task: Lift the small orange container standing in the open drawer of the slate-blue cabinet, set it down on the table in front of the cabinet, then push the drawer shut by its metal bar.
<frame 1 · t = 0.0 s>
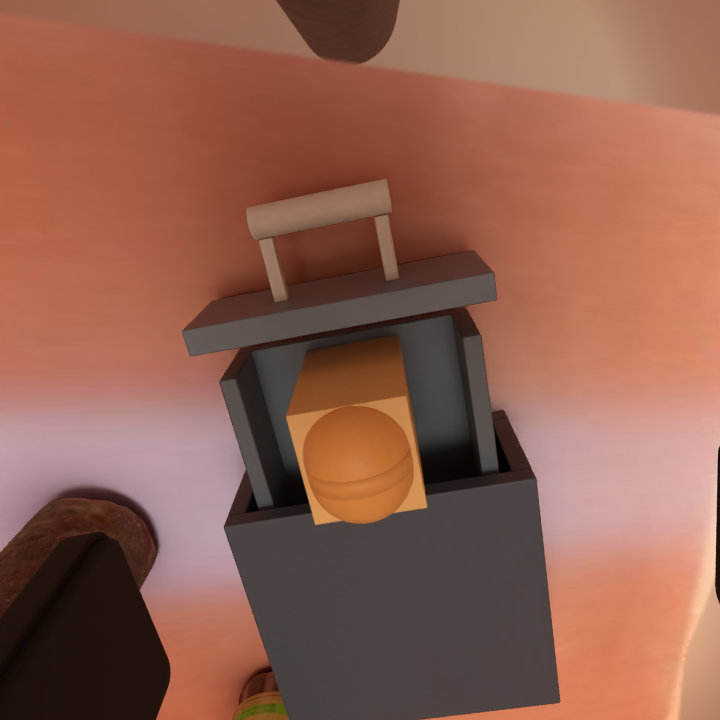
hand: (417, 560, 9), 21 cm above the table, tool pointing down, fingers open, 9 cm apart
cabinet: (397, 532, 35), on the table
sauce bottle: (284, 694, 40), on the table
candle: (98, 534, 35), on the table
drawer: (355, 373, 27), point 3 cm above the table, slide at 8.0 cm, touching orange container
orange container: (362, 388, 29), point 2 cm above the table, touching drawer
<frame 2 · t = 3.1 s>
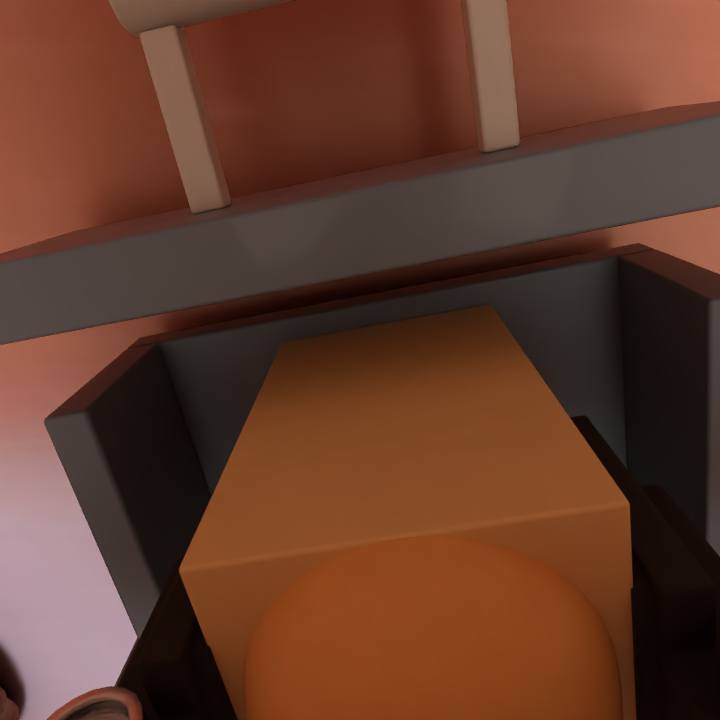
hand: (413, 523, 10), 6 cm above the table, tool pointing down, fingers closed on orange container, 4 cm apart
drawer: (395, 393, 12), point 3 cm above the table, slide at 8.0 cm, touching orange container
orange container: (403, 424, 13), point 2 cm above the table, touching drawer, gripper
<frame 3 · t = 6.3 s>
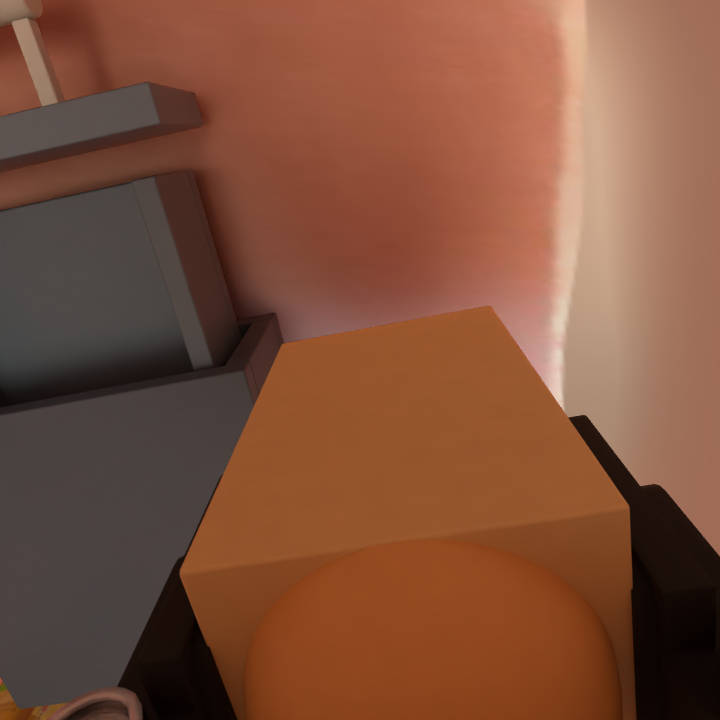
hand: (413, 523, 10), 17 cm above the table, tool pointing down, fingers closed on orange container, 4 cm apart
cabinet: (171, 469, 29), on the table
sauce bottle: (76, 667, 34), on the table
drawer: (42, 248, 22), point 3 cm above the table, slide at 8.0 cm
orange container: (404, 425, 13), point 13 cm above the table, touching gripper
when the fingers open (4 cm above the table, at t = 9.5 s): orange container stays where it is, on the table.
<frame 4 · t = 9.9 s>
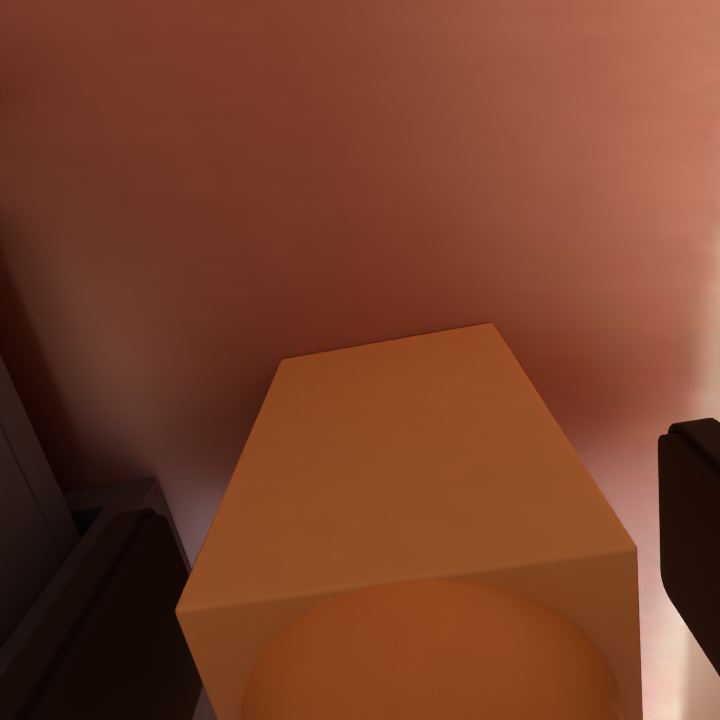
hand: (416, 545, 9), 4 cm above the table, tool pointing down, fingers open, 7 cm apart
orange container: (404, 442, 13), on the table
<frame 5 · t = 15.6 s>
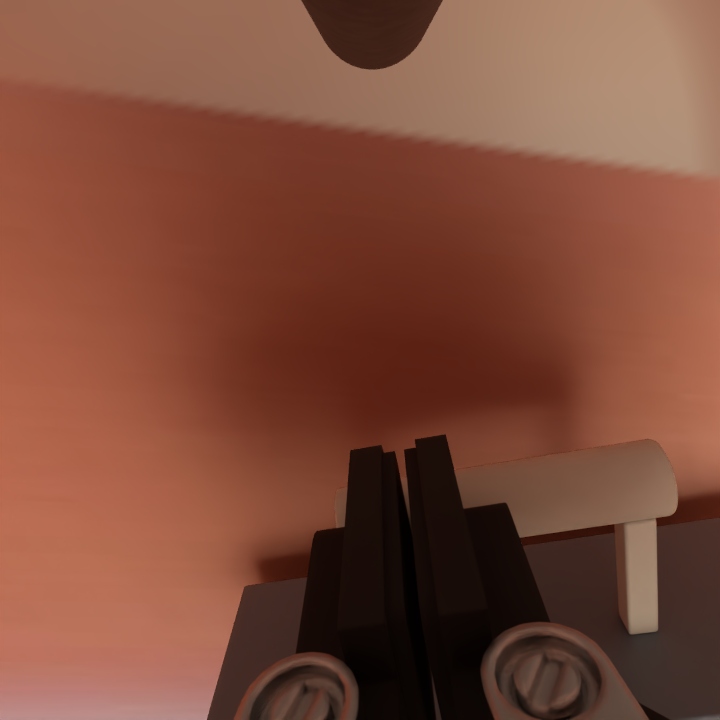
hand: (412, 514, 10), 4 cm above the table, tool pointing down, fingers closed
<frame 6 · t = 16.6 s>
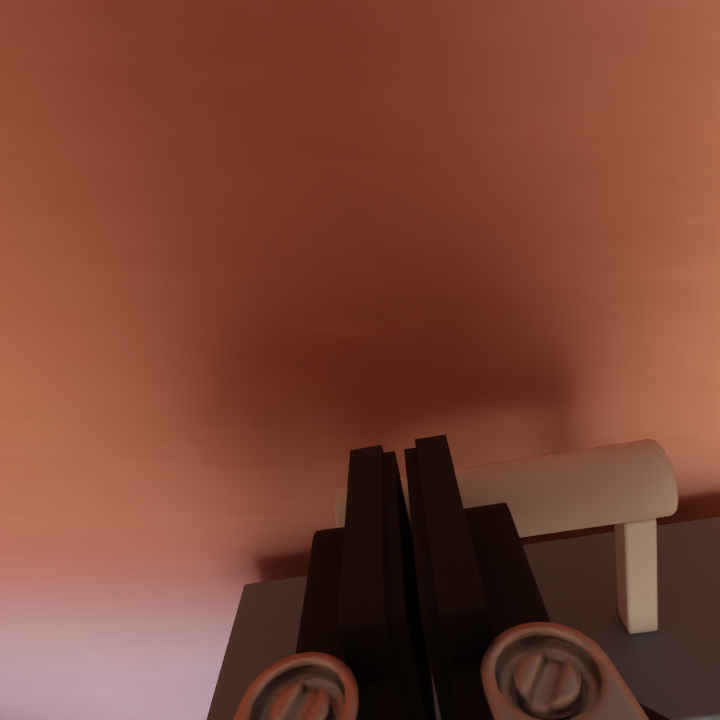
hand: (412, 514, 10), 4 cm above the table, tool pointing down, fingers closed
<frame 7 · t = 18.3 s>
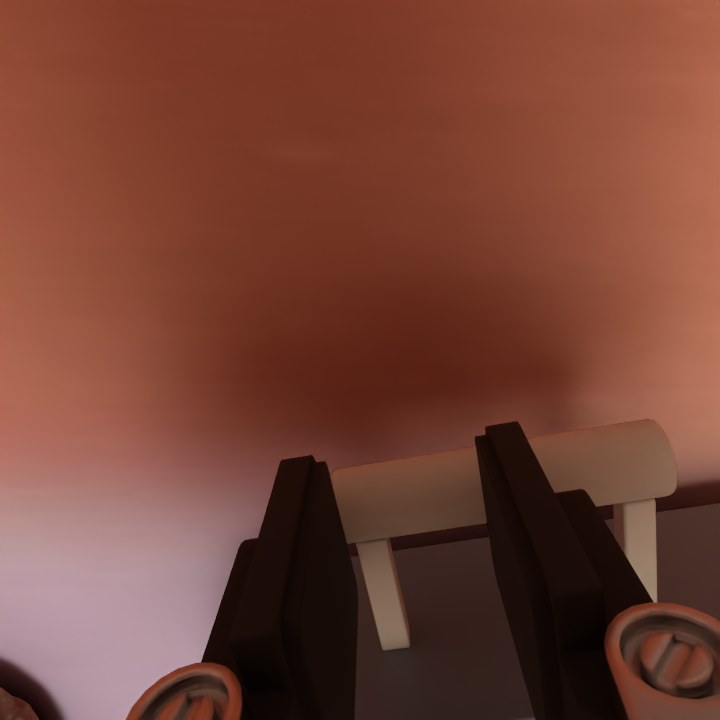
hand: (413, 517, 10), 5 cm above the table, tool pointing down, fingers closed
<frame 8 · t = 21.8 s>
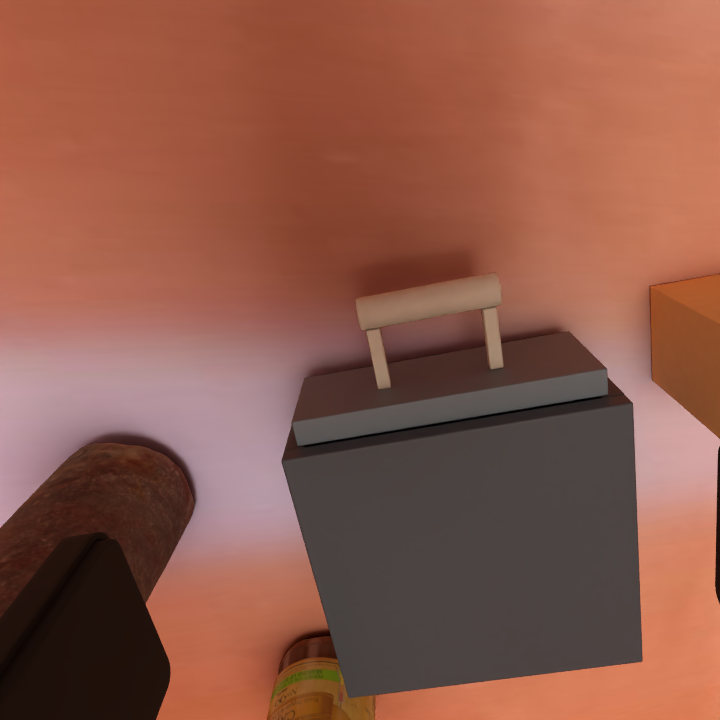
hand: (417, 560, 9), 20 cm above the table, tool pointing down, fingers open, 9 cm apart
cabinet: (454, 483, 32), on the table
sauce bottle: (325, 663, 37), on the table
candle: (131, 486, 33), on the table
drawer: (452, 453, 28), point 3 cm above the table, slide at 0.0 cm
orange container: (698, 326, 29), on the table
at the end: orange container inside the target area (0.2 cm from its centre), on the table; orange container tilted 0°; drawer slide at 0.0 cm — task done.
